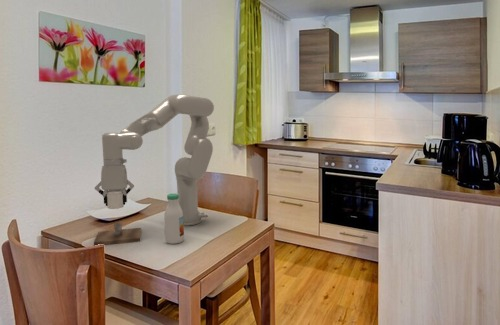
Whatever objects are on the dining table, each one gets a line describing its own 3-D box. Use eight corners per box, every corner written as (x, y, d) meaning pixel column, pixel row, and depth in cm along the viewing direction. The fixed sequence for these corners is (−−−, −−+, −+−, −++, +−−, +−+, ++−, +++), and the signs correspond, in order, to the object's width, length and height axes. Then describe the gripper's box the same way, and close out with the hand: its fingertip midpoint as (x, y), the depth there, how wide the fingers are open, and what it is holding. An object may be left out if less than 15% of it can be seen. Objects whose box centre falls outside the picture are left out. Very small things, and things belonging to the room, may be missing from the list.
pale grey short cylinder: (124, 204, 152) (123, 188, 151) (123, 208, 146) (122, 192, 145) (108, 205, 150) (107, 189, 149) (107, 209, 144) (106, 192, 143)
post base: (141, 230, 159) (140, 217, 158) (140, 241, 147) (139, 226, 146) (98, 234, 154) (97, 220, 153) (93, 246, 142) (92, 230, 141)
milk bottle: (175, 245, 142) (173, 197, 139) (161, 242, 146) (159, 195, 143) (188, 239, 148) (186, 193, 145) (174, 236, 152) (172, 191, 149)
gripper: (135, 160, 151) (137, 200, 154) (92, 162, 147) (94, 203, 149) (134, 163, 144) (136, 205, 147) (89, 164, 139) (92, 208, 142)
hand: (115, 204), depth 148 cm, fingers closed on pale grey short cylinder, 6 cm apart
